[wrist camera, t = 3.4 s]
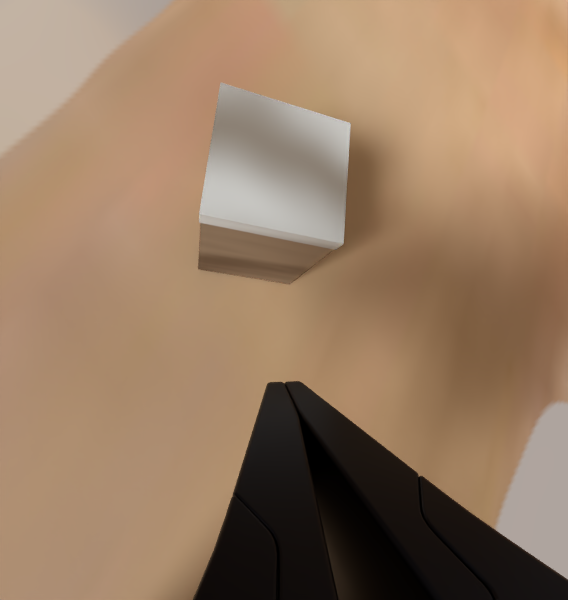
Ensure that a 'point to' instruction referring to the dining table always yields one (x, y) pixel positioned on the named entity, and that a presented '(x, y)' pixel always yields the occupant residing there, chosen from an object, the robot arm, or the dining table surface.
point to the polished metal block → (272, 188)
